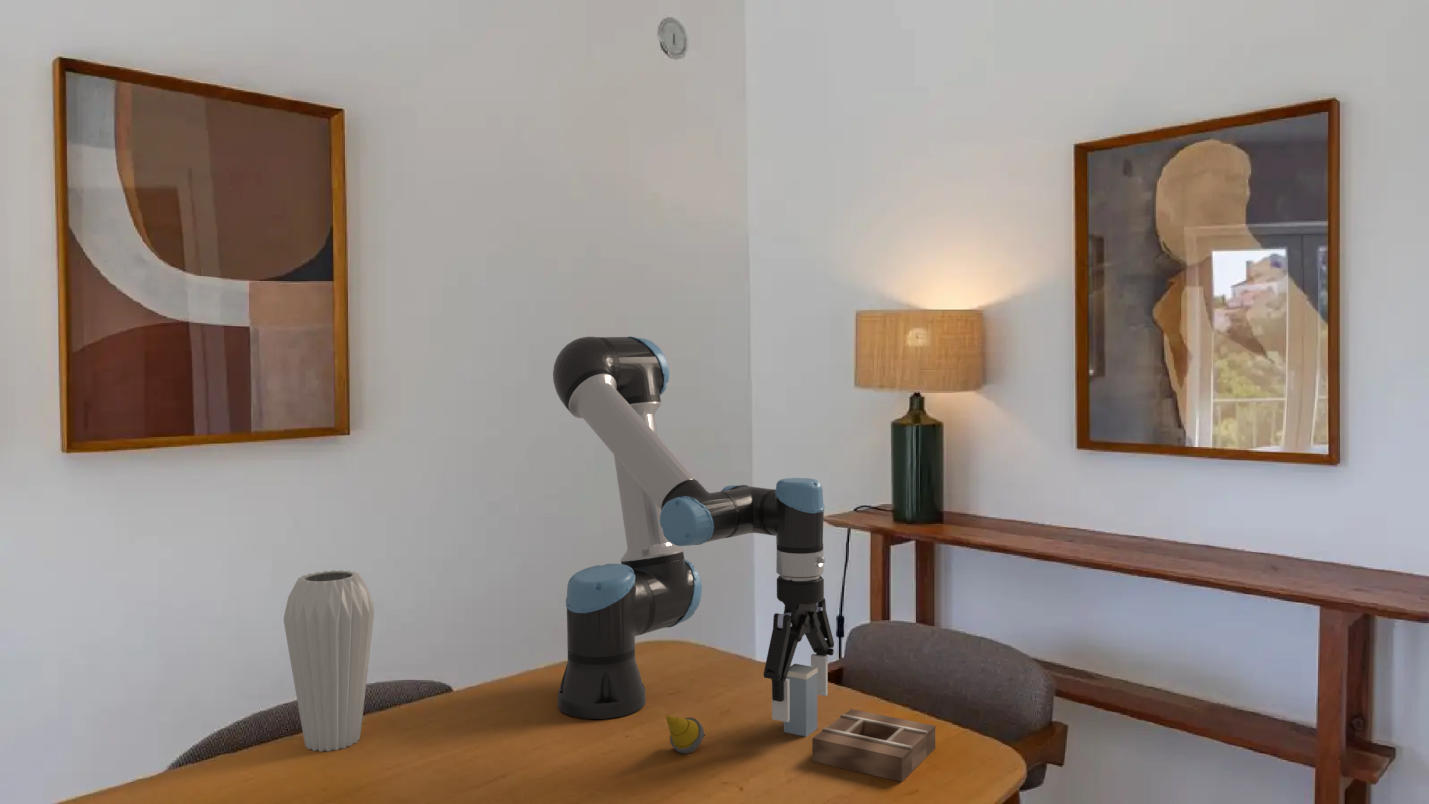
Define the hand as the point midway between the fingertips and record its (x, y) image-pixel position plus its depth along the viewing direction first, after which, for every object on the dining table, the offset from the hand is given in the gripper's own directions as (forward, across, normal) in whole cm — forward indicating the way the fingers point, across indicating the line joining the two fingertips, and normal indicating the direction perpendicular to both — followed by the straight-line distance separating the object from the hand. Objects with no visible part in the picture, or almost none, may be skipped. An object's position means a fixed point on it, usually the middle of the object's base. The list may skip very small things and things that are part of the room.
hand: (800, 706), depth 158 cm
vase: (+4, -42, +61) cm, 74 cm away
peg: (+4, 0, 0) cm, 4 cm away
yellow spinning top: (+4, -17, +11) cm, 21 cm away
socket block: (+4, -3, -14) cm, 15 cm away
